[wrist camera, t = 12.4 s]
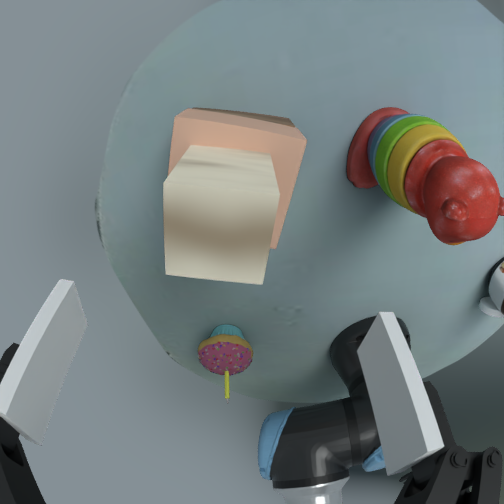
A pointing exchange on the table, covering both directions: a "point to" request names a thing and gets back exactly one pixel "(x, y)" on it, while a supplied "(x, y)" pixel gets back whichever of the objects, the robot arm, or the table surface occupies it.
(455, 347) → the table surface
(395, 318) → the robot arm
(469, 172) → the stacking bear
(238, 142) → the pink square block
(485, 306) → the spread jar
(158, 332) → the table surface
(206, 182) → the birch block
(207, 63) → the table surface
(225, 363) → the cupcake
